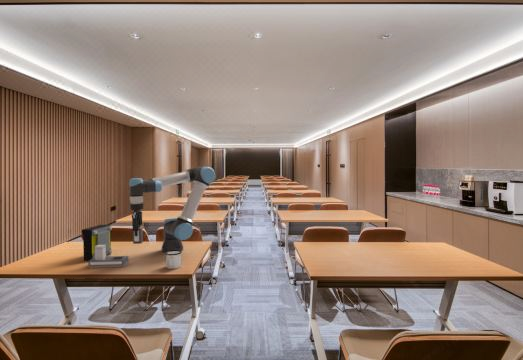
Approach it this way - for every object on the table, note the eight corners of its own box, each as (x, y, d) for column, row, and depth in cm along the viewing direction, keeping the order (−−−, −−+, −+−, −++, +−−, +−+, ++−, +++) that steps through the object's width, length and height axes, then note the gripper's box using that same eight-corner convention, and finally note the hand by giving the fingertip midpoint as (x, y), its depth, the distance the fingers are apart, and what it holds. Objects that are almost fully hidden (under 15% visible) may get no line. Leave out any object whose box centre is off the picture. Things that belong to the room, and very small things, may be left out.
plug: (143, 241, 193) (142, 224, 193) (140, 243, 189) (140, 226, 188) (135, 242, 193) (134, 224, 192) (133, 243, 188) (132, 226, 188)
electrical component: (95, 261, 193) (94, 230, 192) (81, 260, 195) (80, 229, 194) (113, 253, 210) (113, 225, 210) (100, 253, 212) (100, 224, 212)
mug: (167, 264, 187) (167, 250, 187) (183, 264, 187) (183, 249, 187) (162, 271, 175) (162, 255, 175) (178, 270, 175) (178, 255, 175)
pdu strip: (128, 262, 192) (128, 255, 192) (123, 266, 183) (123, 260, 182) (95, 263, 190) (95, 256, 190) (88, 267, 181) (88, 261, 181)
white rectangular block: (106, 262, 188) (105, 244, 188) (102, 264, 184) (102, 246, 183) (98, 262, 188) (97, 244, 187) (94, 264, 183) (94, 246, 183)
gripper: (135, 201, 198) (136, 237, 199) (125, 205, 180) (127, 243, 181) (146, 201, 198) (148, 236, 200) (138, 204, 181) (140, 243, 182)
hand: (138, 240), depth 191 cm, fingers closed on plug, 4 cm apart
